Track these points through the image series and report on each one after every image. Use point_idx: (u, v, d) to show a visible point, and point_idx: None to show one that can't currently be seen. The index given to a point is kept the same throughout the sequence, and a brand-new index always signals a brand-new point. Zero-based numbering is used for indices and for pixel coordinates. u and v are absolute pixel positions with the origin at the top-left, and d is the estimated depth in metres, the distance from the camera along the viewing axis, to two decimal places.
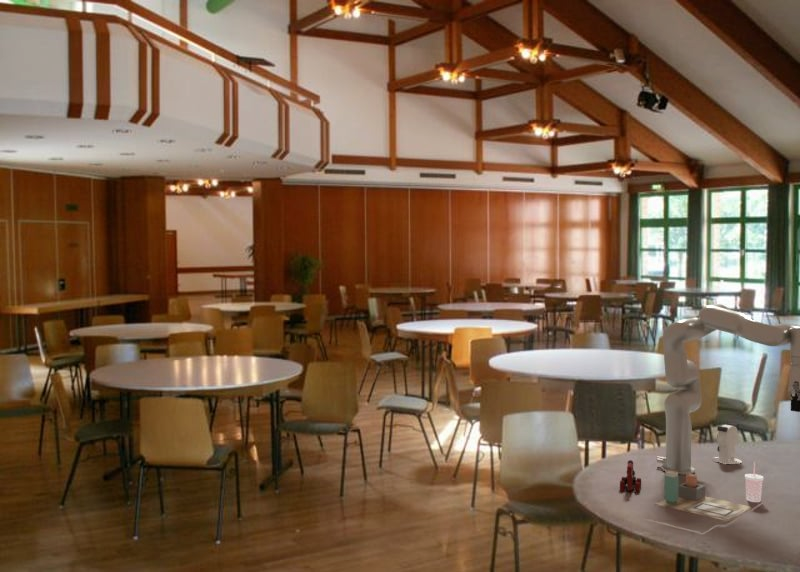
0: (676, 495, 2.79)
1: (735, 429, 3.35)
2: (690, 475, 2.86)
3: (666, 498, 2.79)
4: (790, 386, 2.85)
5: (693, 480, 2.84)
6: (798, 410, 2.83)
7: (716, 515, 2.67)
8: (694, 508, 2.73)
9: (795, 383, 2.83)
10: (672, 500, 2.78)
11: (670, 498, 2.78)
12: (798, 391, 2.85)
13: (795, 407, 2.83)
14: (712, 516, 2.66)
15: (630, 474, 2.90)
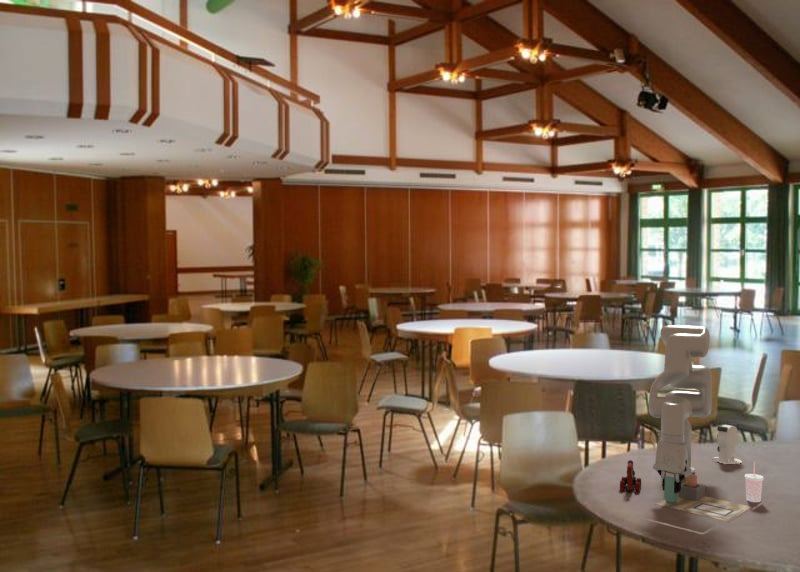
0: (676, 495, 2.79)
1: (735, 429, 3.35)
2: (690, 475, 2.86)
3: (666, 498, 2.79)
4: (683, 466, 2.74)
5: (693, 480, 2.84)
6: None
7: (716, 515, 2.67)
8: (694, 508, 2.73)
9: (686, 465, 2.75)
10: (672, 500, 2.78)
11: (670, 498, 2.78)
12: None
13: (680, 488, 2.78)
14: (712, 516, 2.66)
15: (630, 474, 2.90)
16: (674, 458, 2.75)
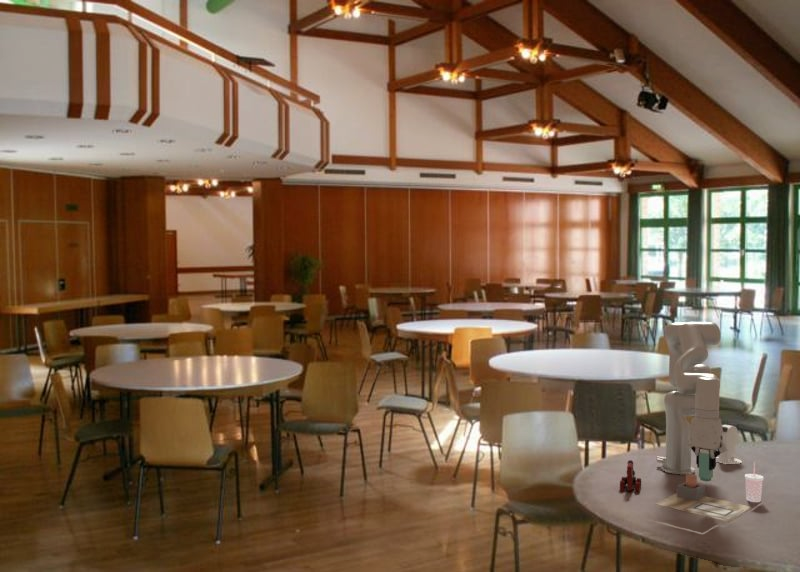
0: (711, 472, 2.73)
1: (735, 429, 3.35)
2: (690, 475, 2.86)
3: (700, 475, 2.73)
4: (718, 442, 2.68)
5: (693, 480, 2.84)
6: None
7: (716, 515, 2.67)
8: (694, 508, 2.73)
9: (721, 441, 2.70)
10: (707, 477, 2.72)
11: (705, 475, 2.72)
12: None
13: (715, 465, 2.72)
14: (712, 516, 2.66)
15: (630, 474, 2.90)
16: (709, 434, 2.70)
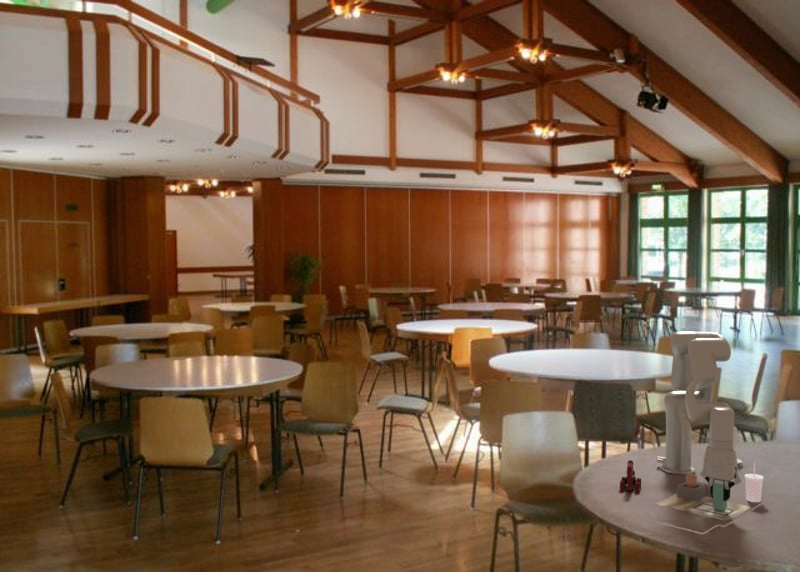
0: (725, 503, 2.70)
1: (735, 429, 3.35)
2: (690, 475, 2.86)
3: (714, 506, 2.70)
4: (733, 473, 2.65)
5: (693, 480, 2.84)
6: None
7: (716, 515, 2.67)
8: (694, 508, 2.73)
9: (735, 472, 2.67)
10: (721, 508, 2.69)
11: (719, 506, 2.69)
12: None
13: (729, 496, 2.69)
14: (712, 516, 2.66)
15: (630, 474, 2.90)
16: (723, 465, 2.67)
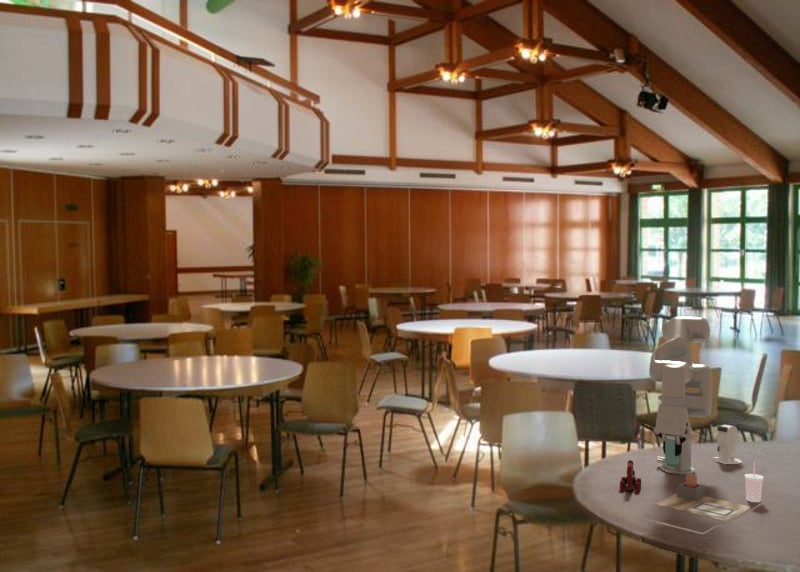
0: (677, 458, 2.78)
1: (735, 429, 3.35)
2: (690, 475, 2.86)
3: (667, 461, 2.78)
4: (684, 429, 2.73)
5: (693, 480, 2.84)
6: None
7: (716, 515, 2.67)
8: (694, 508, 2.73)
9: (686, 427, 2.75)
10: (673, 463, 2.77)
11: (671, 461, 2.77)
12: None
13: (680, 451, 2.77)
14: (712, 516, 2.66)
15: (630, 474, 2.90)
16: (675, 420, 2.75)
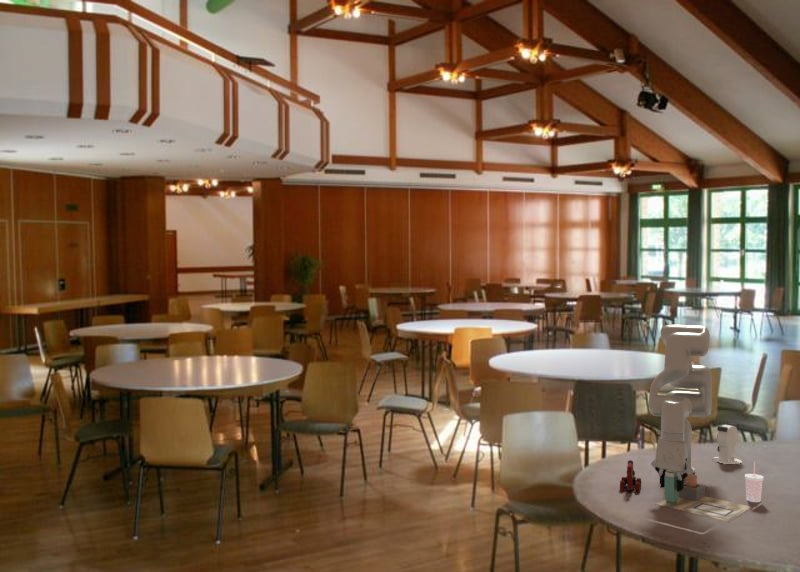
0: (676, 495, 2.79)
1: (735, 429, 3.35)
2: (690, 475, 2.86)
3: (666, 498, 2.79)
4: (683, 465, 2.74)
5: (693, 480, 2.84)
6: (681, 488, 2.78)
7: (716, 515, 2.67)
8: (694, 508, 2.73)
9: (686, 462, 2.75)
10: (672, 500, 2.78)
11: (670, 498, 2.78)
12: None
13: (682, 486, 2.77)
14: (712, 516, 2.66)
15: (630, 474, 2.90)
16: (674, 456, 2.75)
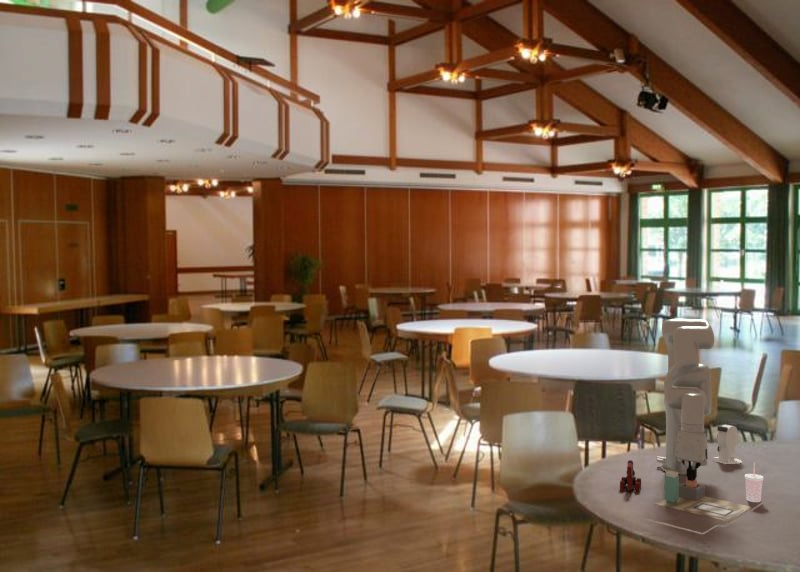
0: (676, 495, 2.79)
1: (735, 429, 3.35)
2: None
3: (666, 498, 2.79)
4: (703, 455, 2.80)
5: (693, 484, 2.84)
6: (694, 478, 2.86)
7: (716, 515, 2.67)
8: (694, 508, 2.73)
9: None
10: (672, 500, 2.78)
11: (670, 498, 2.78)
12: None
13: (695, 476, 2.85)
14: (712, 516, 2.66)
15: (630, 474, 2.90)
16: (694, 447, 2.82)
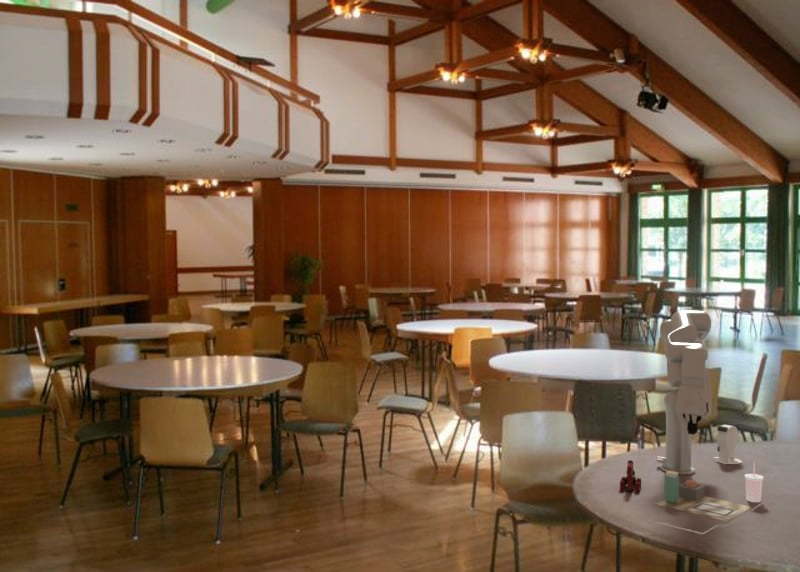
0: (676, 495, 2.79)
1: (735, 429, 3.35)
2: (690, 481, 2.86)
3: (666, 498, 2.79)
4: (704, 408, 2.80)
5: (693, 486, 2.84)
6: (695, 432, 2.85)
7: (716, 515, 2.67)
8: (694, 508, 2.73)
9: (705, 408, 2.81)
10: (672, 500, 2.78)
11: (670, 498, 2.78)
12: None
13: (696, 430, 2.84)
14: (712, 516, 2.66)
15: (630, 474, 2.90)
16: (695, 400, 2.81)
